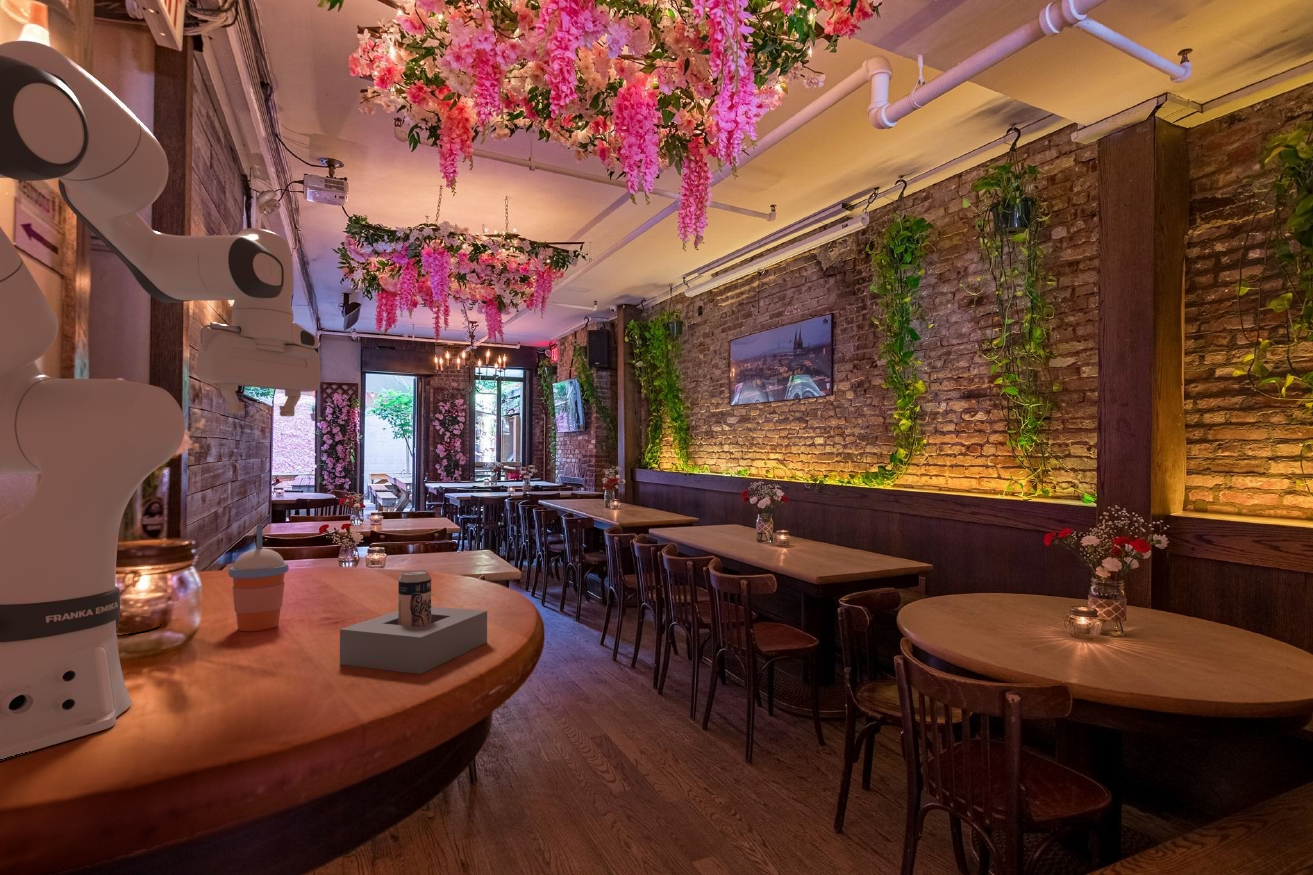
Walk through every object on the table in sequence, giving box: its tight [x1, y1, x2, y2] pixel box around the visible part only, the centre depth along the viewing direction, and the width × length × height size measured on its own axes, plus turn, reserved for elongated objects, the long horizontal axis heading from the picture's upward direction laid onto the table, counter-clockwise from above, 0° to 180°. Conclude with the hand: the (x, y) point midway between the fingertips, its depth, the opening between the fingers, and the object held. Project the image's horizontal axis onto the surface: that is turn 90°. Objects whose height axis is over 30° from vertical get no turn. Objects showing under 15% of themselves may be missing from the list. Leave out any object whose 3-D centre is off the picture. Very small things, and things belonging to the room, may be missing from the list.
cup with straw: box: [227, 523, 289, 632], centre depth 115 cm, size 9×9×18 cm
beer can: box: [397, 569, 432, 627], centre depth 100 cm, size 5×5×12 cm
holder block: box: [339, 605, 488, 675], centre depth 99 cm, size 16×14×5 cm
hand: (262, 414), depth 108 cm, fingers open, 8 cm apart
